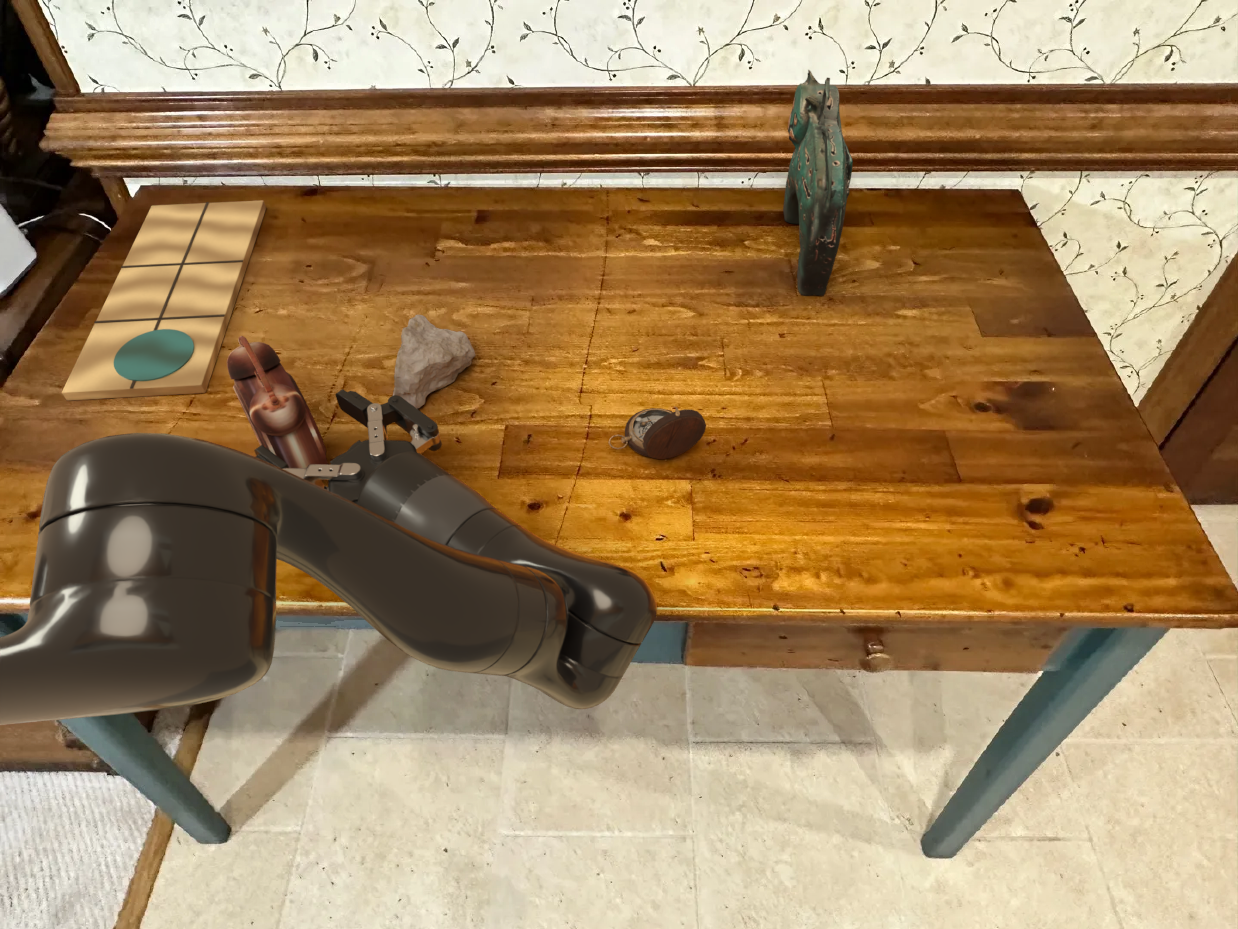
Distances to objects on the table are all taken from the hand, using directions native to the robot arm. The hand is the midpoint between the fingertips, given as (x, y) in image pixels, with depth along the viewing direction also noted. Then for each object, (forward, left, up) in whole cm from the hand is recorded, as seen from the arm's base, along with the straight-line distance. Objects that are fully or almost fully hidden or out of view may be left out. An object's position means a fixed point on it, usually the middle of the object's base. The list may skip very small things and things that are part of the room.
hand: (301, 425), depth 76 cm
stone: (+15, +6, -9) cm, 19 cm away
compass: (+26, -16, -9) cm, 32 cm away
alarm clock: (-1, +4, -9) cm, 9 cm away
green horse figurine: (+62, -5, -9) cm, 63 cm away
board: (+2, +37, -8) cm, 38 cm away
